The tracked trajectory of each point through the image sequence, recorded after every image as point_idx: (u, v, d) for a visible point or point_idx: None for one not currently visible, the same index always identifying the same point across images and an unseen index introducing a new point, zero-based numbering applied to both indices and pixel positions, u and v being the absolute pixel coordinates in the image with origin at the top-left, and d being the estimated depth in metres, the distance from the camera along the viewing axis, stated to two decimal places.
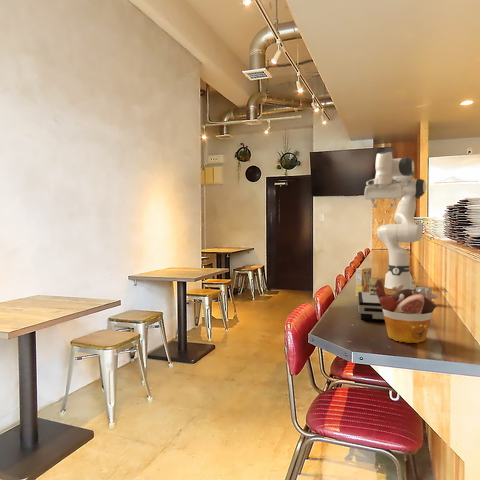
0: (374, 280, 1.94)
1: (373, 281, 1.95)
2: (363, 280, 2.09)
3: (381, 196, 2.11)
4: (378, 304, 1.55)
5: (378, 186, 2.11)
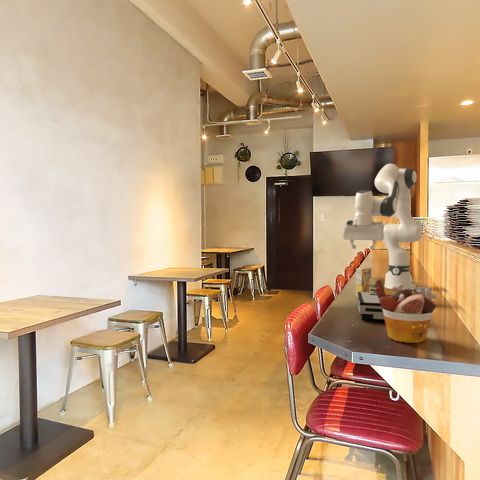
0: (374, 280, 1.94)
1: (373, 281, 1.95)
2: (363, 280, 2.09)
3: (360, 237, 2.00)
4: (379, 304, 1.55)
5: (357, 227, 2.00)
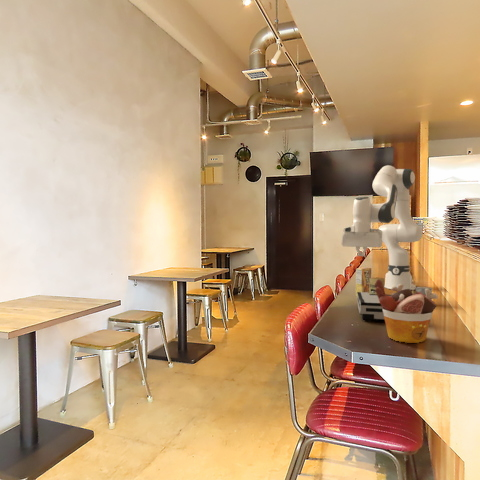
0: (374, 280, 1.94)
1: (373, 281, 1.95)
2: (363, 280, 2.09)
3: (358, 244, 1.99)
4: (380, 304, 1.55)
5: (355, 234, 2.00)
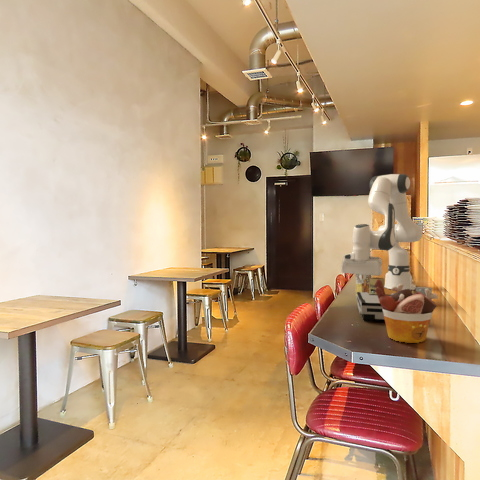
0: (374, 280, 1.94)
1: (373, 281, 1.95)
2: None
3: (358, 272, 2.00)
4: None
5: (355, 261, 2.00)
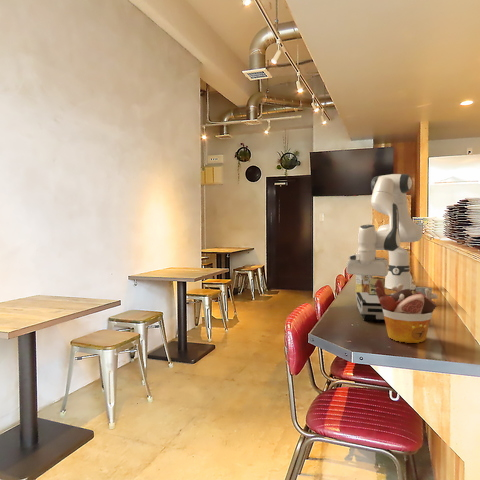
0: (375, 280, 1.94)
1: (374, 281, 1.95)
2: None
3: (364, 273, 1.98)
4: None
5: (360, 262, 1.98)
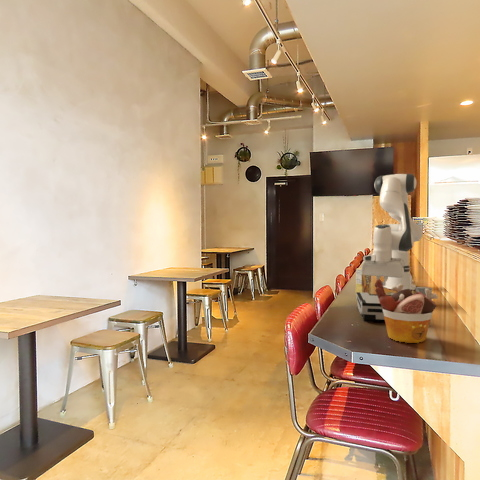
0: None
1: None
2: (363, 280, 2.09)
3: (379, 274, 1.93)
4: None
5: (376, 263, 1.94)
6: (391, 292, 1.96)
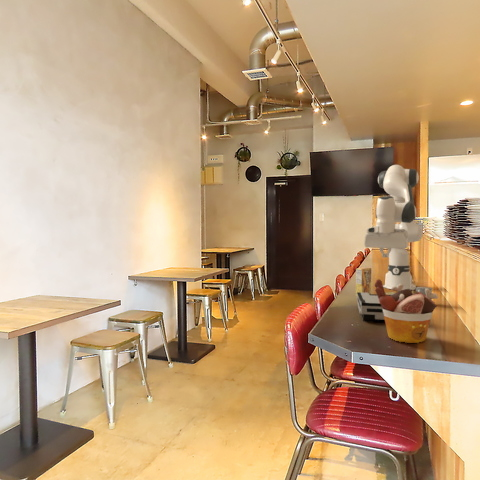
0: None
1: None
2: (363, 280, 2.09)
3: (383, 245, 1.92)
4: None
5: (379, 234, 1.92)
6: (391, 292, 1.96)
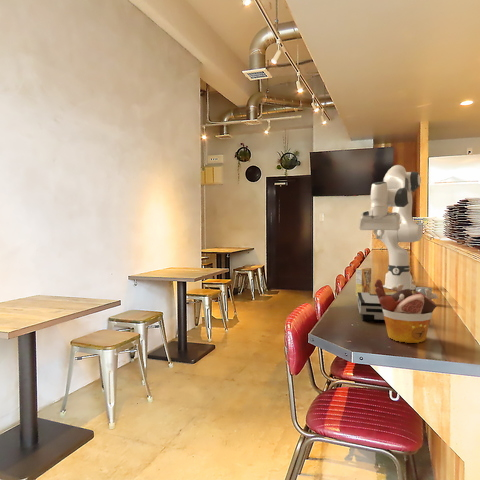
0: None
1: None
2: (363, 280, 2.09)
3: (376, 228, 2.05)
4: (380, 304, 1.54)
5: (373, 217, 2.06)
6: (391, 292, 1.96)
